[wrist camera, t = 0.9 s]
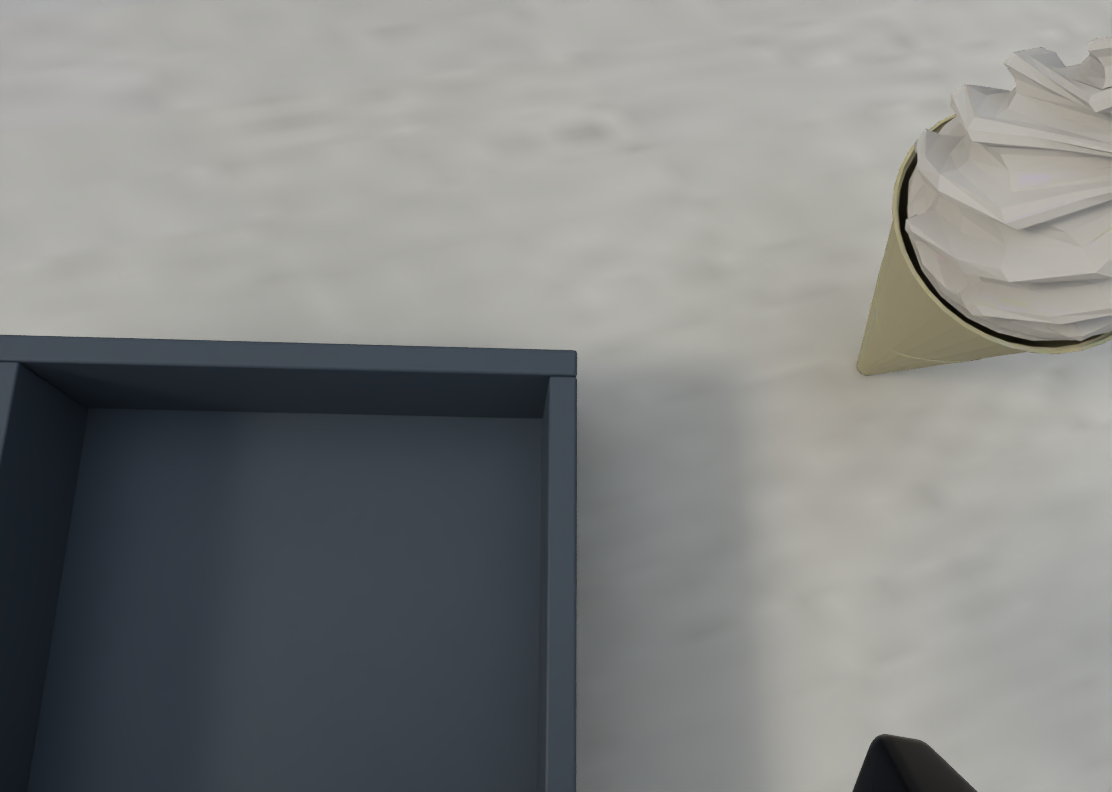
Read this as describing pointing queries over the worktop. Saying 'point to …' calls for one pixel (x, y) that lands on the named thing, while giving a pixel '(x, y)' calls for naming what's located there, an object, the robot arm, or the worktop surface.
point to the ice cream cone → (1002, 223)
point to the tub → (286, 567)
